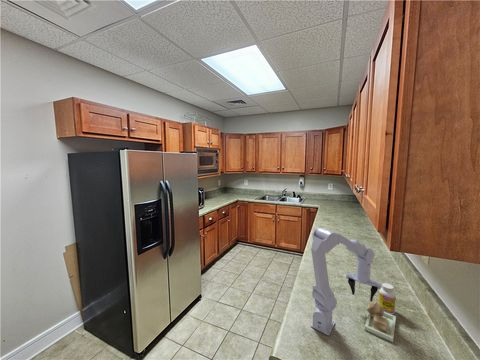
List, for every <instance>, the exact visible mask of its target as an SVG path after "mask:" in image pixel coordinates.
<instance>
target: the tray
mask: <svg viewBox="0 0 480 360" xmlns="http://www.w3.org/2000/svg"><path fill="white" fill-rule="evenodd" d="M382 317H384V318H386V319H387V329H386V334H385V333H383V332H381V331H378V330H376V329H374V328H373V324H374V318H373V317H372V316H371V315H370V313H369V312H368V315H367V317H366V321H365V324H364V331H365V332H367V333H369V334H372V335H374V336H377V337H379V338H381V339H383V340H385V341H388V342H390V343H391V344H394V338H395V332H396V331H395V329H396V321H397V316H396V315H394V314H389V313H386V312H384V313H383V316H382Z"/></svg>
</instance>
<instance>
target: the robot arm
mask: <svg viewBox="0 0 480 360" xmlns="http://www.w3.org/2000/svg"><path fill="white" fill-rule="evenodd" d="M311 235H312V236H311V237H312V244H311V247H310V249H311V258H312V265H313V272H314V279H315V283H314V284H313V285H312V291H311V295H312V298H313V299H314V304H315V306H314V307H315V309H314V312H313V313H312V322H311V324H310V327H311V328H313V329H315V330H317V331H319V332H321V333H322V334H324V335H327V336H330V334H331V332H332V330H333V328H334V326H335V324H336V321H335V320H333V310H334V309H336V307H337V304H338V301H337V298H336V297H335V292H333V290H332V288H331V286H330V281H329V273H328V265H327V259H326V254H328V253H330V252H331V251H332V250H333V249H335V247H336V246H337V245H340V244H341V245H343V246H345V248H346V250H347V251H349V252H350V253H353V254H354V255H355V256H356V274H352V273H346V274H345V278H346V279H347V283H348V285H349V287H350V290H351V294H352V295H353V296H354V295H355V293H356V282H358V283H360V284H362V285H367V286H371V287H370V297H369V299H370V300H369V301H370V302H371V303H373V300H374V299H373V298H374V296H375V295H376V293H377V292H378V291H379V290H381V288H382V284H381V283H380V282H376V281H374V279H373V280H372V279H371V265H372V263H373V259H374V257H375V253H374V251H373V249H372V248H370V247H367V246H366V244H364V243H360V241H359V240H358V239H356V238H355V239H348V238H347V237H345V236H344V235H342V234H340V233H339V232H336V231H333V230H331V229H327V228H324V227H322V226H318V227H316V228H315V230H314V231H313V232H312V234H311Z"/></svg>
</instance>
